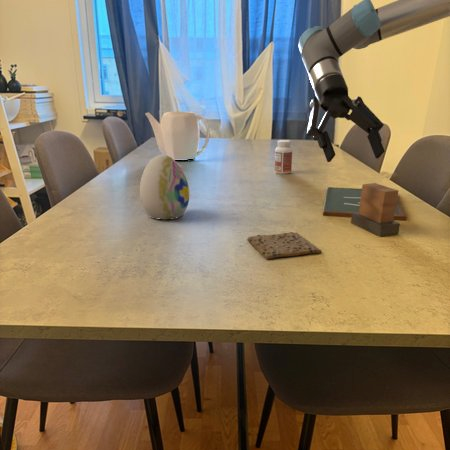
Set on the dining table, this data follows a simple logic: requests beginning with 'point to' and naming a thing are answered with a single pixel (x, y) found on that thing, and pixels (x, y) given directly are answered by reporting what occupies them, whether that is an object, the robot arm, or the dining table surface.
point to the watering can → (179, 134)
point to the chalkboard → (350, 203)
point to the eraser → (377, 210)
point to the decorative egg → (164, 188)
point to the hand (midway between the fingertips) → (356, 156)
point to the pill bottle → (283, 157)
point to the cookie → (282, 245)
